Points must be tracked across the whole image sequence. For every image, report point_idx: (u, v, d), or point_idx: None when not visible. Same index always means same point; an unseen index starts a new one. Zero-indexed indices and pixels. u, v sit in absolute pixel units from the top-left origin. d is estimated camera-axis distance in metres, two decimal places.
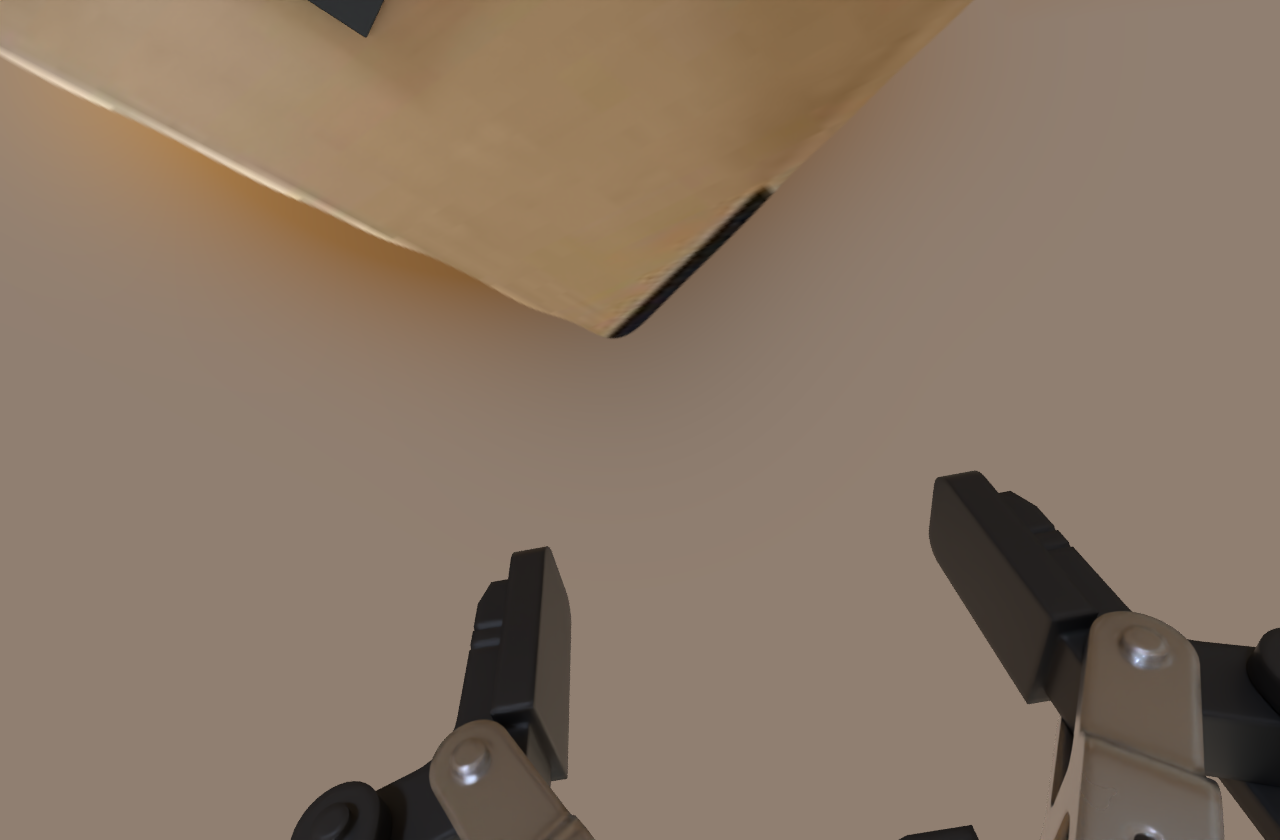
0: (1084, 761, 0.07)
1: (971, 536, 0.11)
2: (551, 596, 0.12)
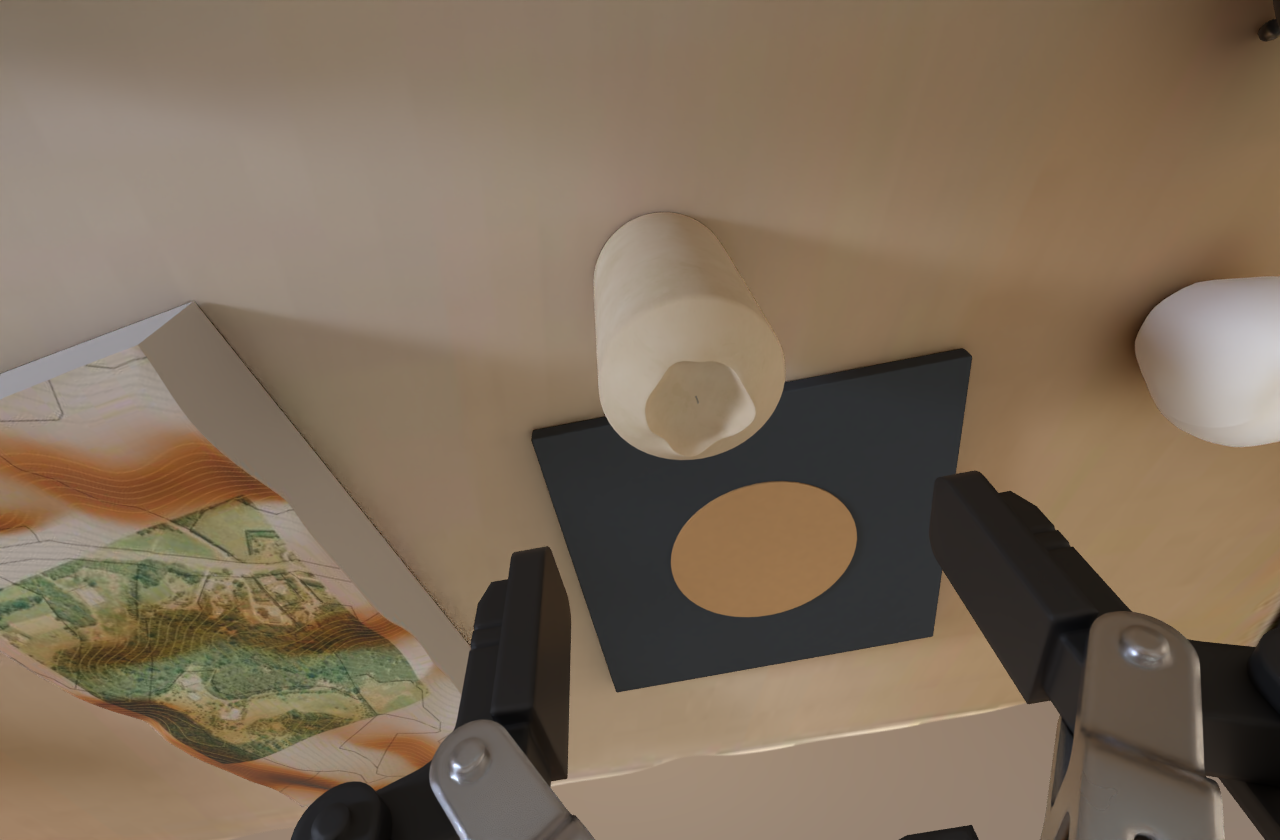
0: (1084, 761, 0.07)
1: (972, 536, 0.11)
2: (551, 596, 0.12)
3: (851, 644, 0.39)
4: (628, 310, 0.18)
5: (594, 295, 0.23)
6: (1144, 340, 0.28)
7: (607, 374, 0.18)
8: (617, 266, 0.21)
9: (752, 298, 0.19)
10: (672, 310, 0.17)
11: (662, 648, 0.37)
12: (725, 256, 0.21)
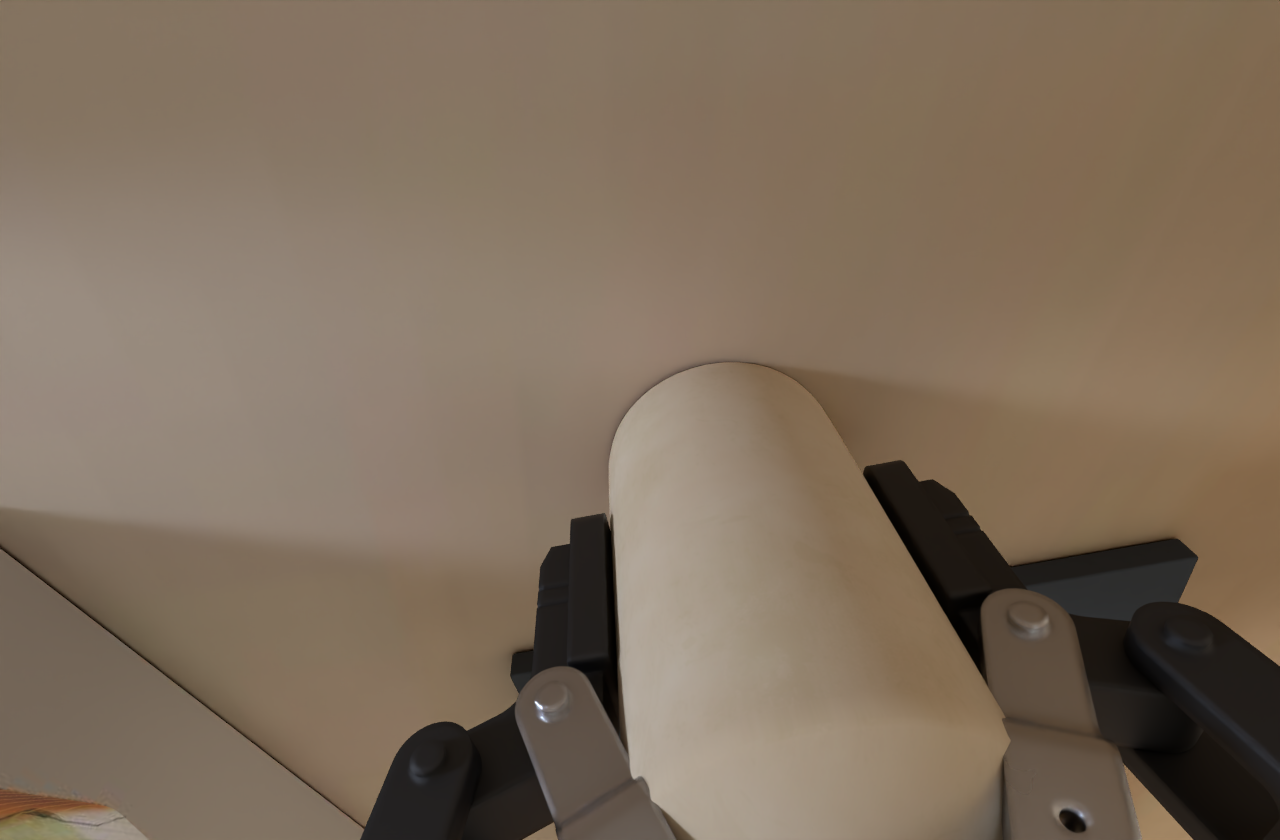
0: None
1: (891, 521, 0.12)
2: (610, 560, 0.13)
3: None
4: (696, 699, 0.08)
5: (611, 514, 0.13)
6: None
7: None
8: (656, 499, 0.11)
9: (947, 623, 0.09)
10: (810, 752, 0.07)
11: None
12: (856, 475, 0.12)
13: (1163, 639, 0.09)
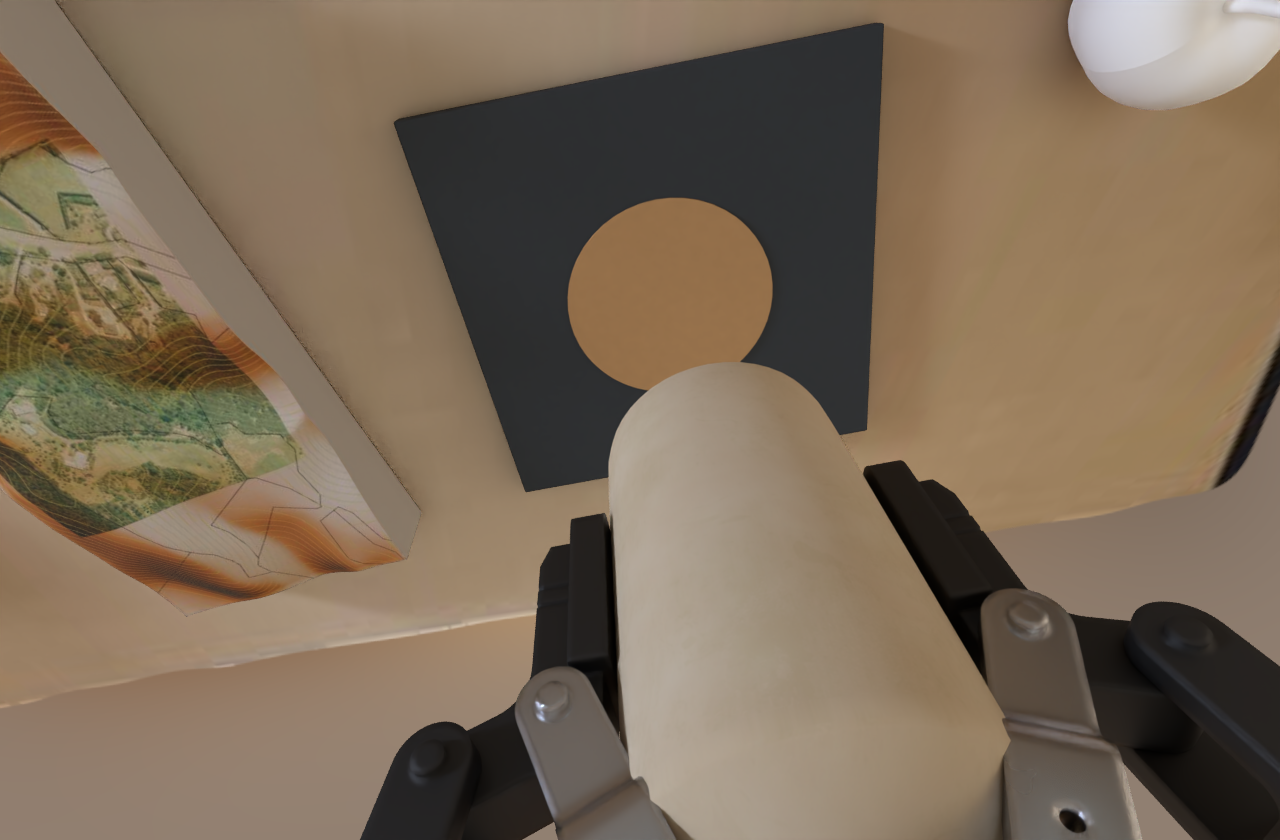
0: None
1: (891, 521, 0.12)
2: (610, 559, 0.13)
3: None
4: (695, 698, 0.08)
5: (610, 514, 0.13)
6: (1075, 3, 0.25)
7: None
8: (656, 499, 0.11)
9: (947, 623, 0.09)
10: (809, 753, 0.07)
11: (570, 432, 0.34)
12: (856, 475, 0.12)
13: (1163, 639, 0.09)
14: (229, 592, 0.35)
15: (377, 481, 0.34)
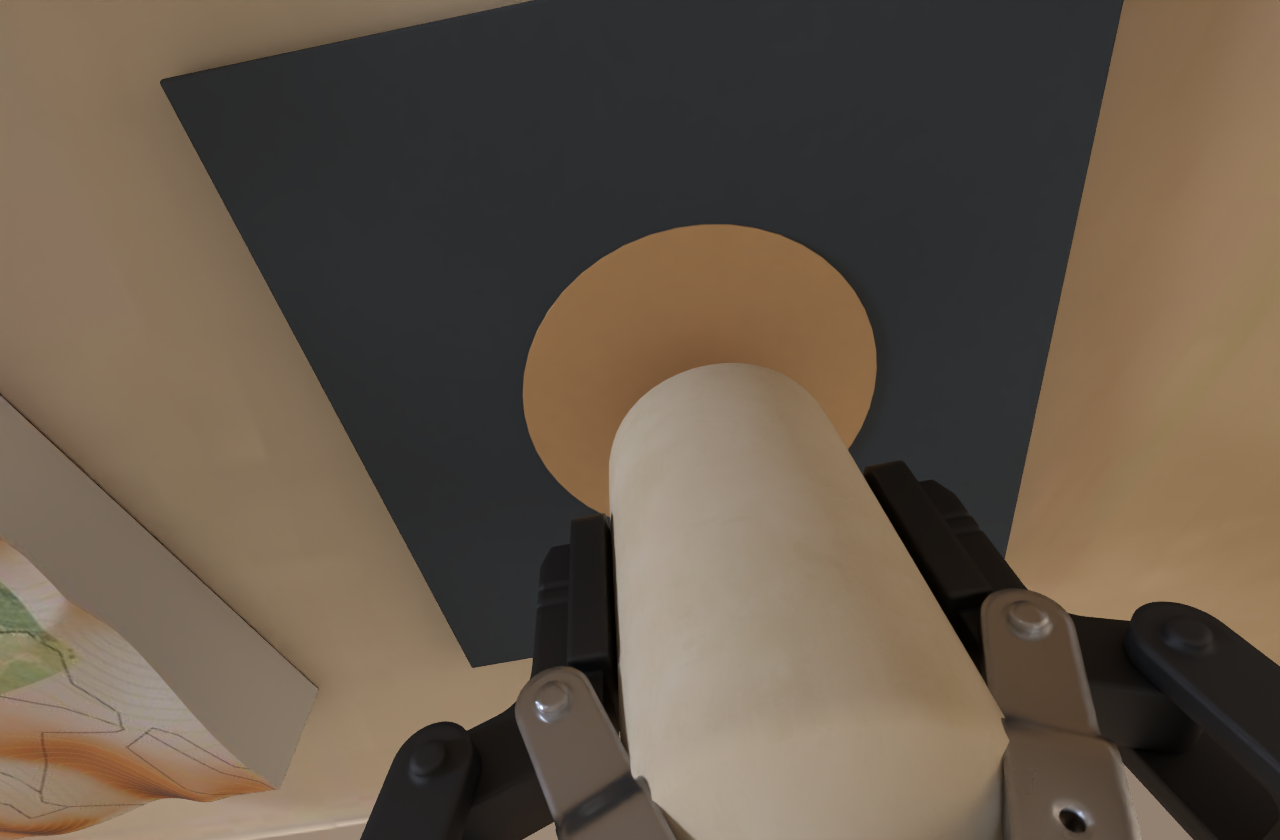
0: None
1: (891, 521, 0.12)
2: (610, 560, 0.13)
3: None
4: (695, 700, 0.08)
5: (611, 515, 0.13)
6: None
7: None
8: (656, 500, 0.11)
9: (947, 624, 0.09)
10: (810, 754, 0.07)
11: (537, 590, 0.22)
12: (856, 476, 0.12)
13: (1163, 639, 0.09)
14: None
15: (230, 668, 0.21)
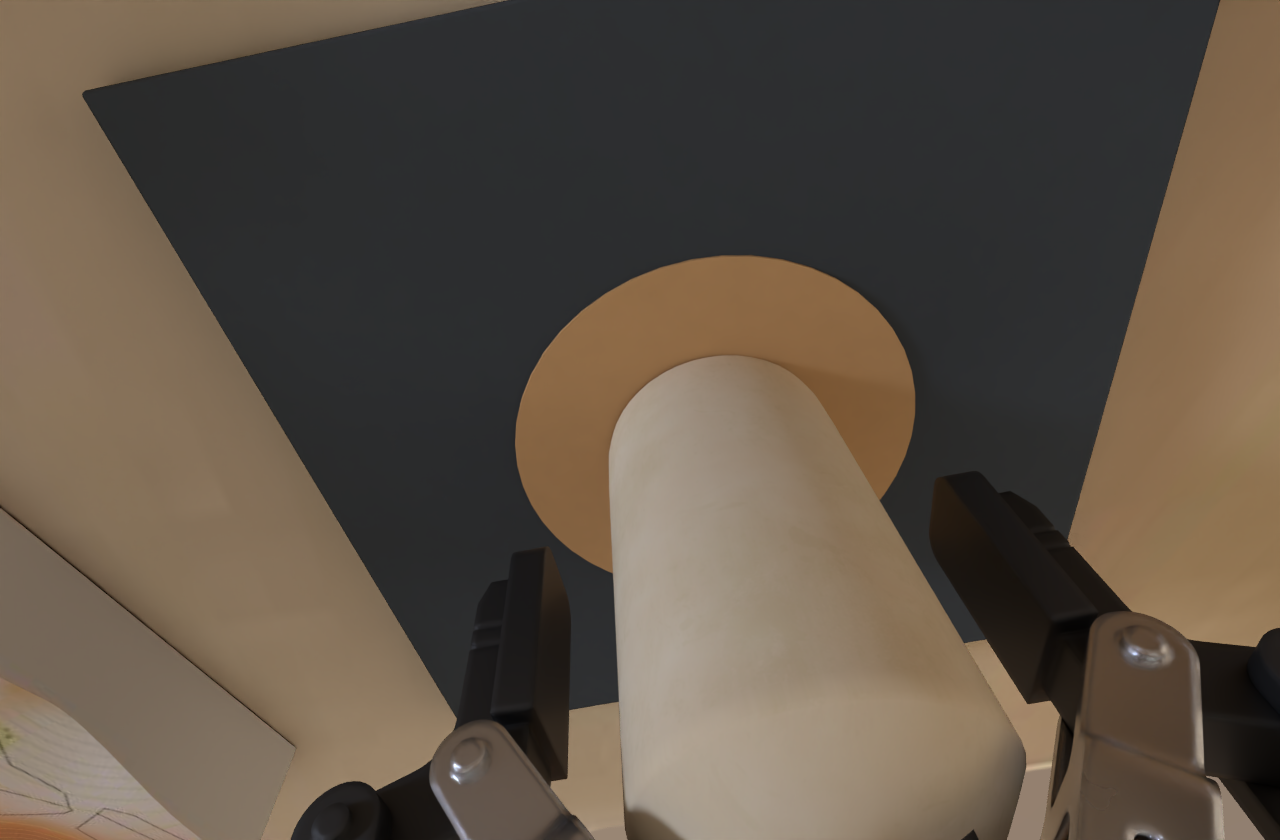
0: (1084, 761, 0.07)
1: (971, 536, 0.11)
2: (551, 596, 0.12)
3: None
4: (692, 677, 0.08)
5: (611, 504, 0.14)
6: None
7: (643, 820, 0.08)
8: (655, 488, 0.11)
9: (938, 606, 0.09)
10: (803, 726, 0.07)
11: None
12: (851, 465, 0.12)
13: None
14: None
15: (194, 736, 0.19)
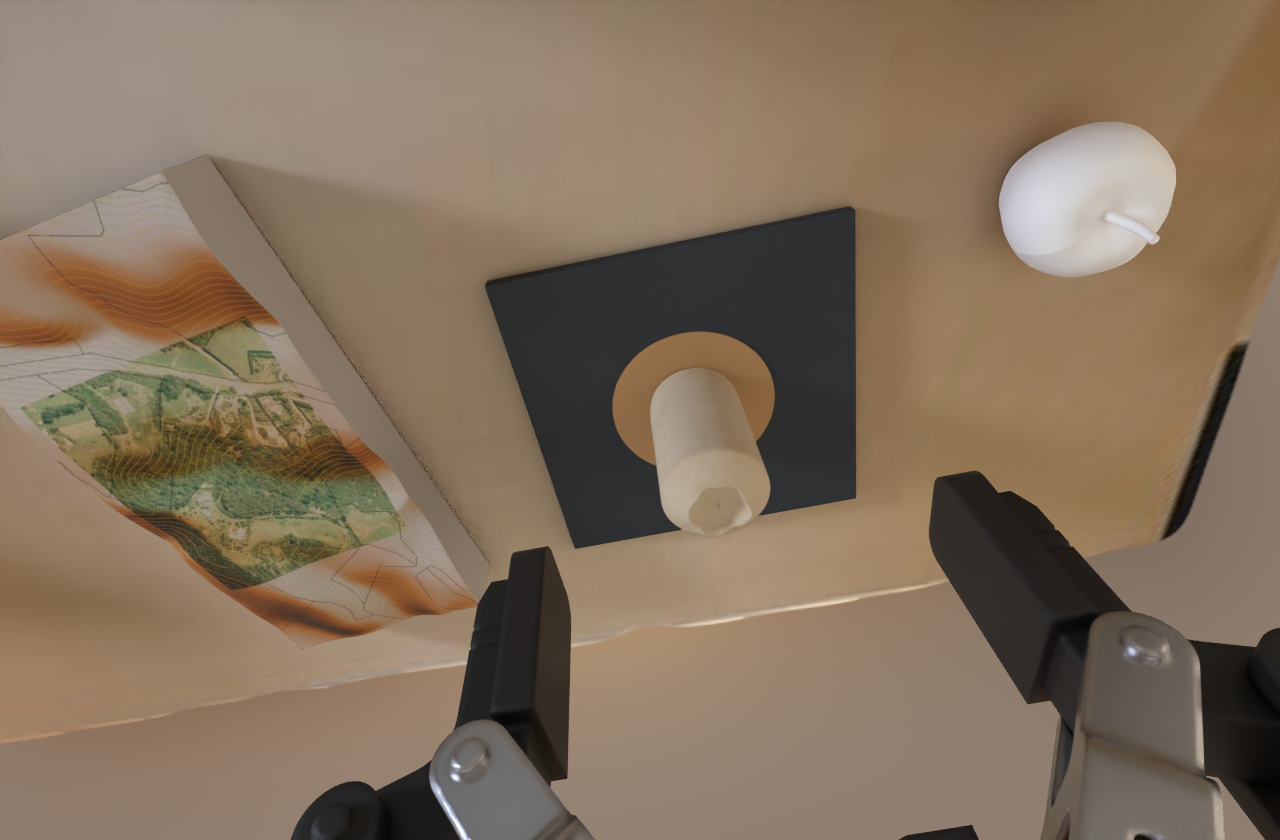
0: (1084, 761, 0.07)
1: (971, 535, 0.11)
2: (551, 596, 0.12)
3: (782, 503, 0.43)
4: (678, 453, 0.31)
5: (652, 423, 0.36)
6: (1001, 194, 0.32)
7: (666, 490, 0.31)
8: (668, 412, 0.34)
9: (751, 441, 0.32)
10: (704, 457, 0.30)
11: (612, 502, 0.43)
12: (735, 405, 0.35)
13: None
14: (338, 630, 0.44)
15: (458, 542, 0.43)
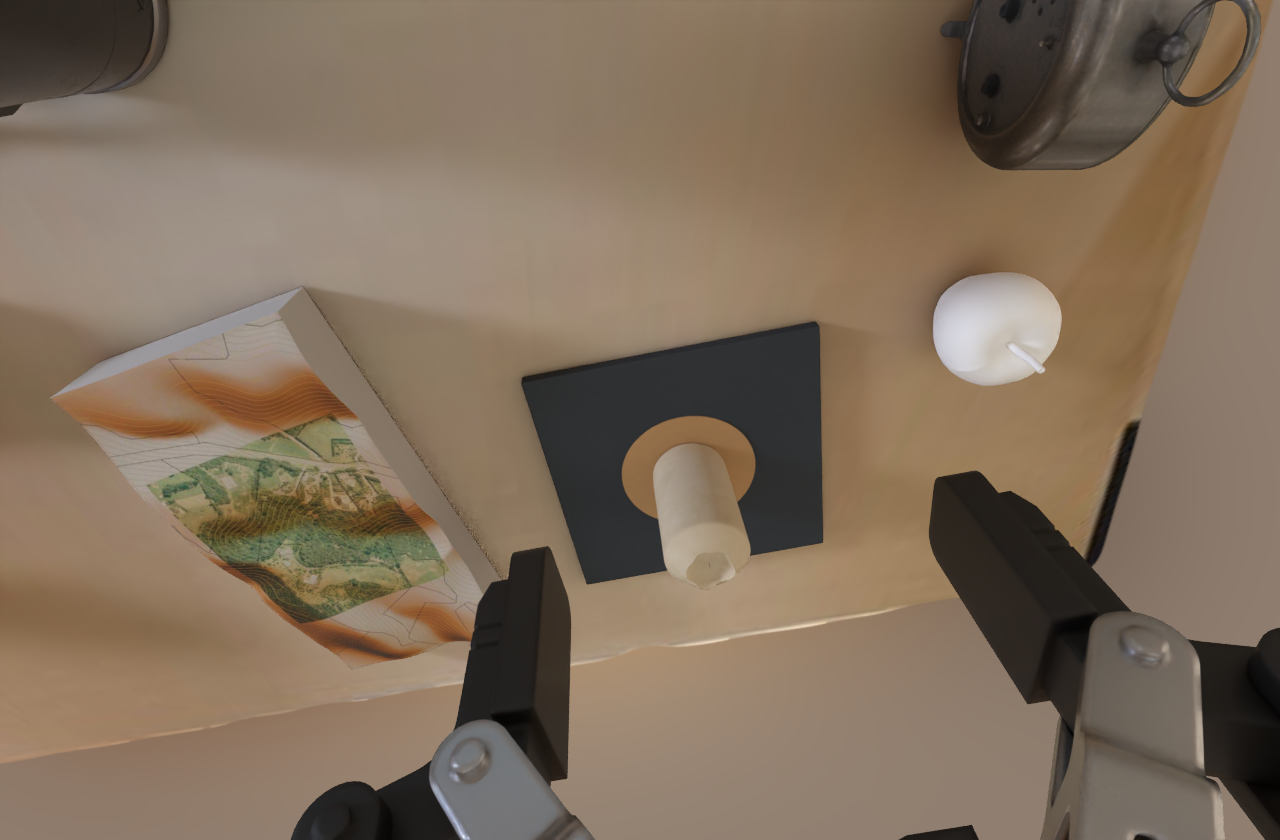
0: (1084, 761, 0.07)
1: (971, 536, 0.11)
2: (551, 596, 0.12)
3: (761, 547, 0.52)
4: (678, 524, 0.39)
5: (655, 490, 0.45)
6: (934, 315, 0.41)
7: (668, 553, 0.39)
8: (669, 485, 0.42)
9: (735, 512, 0.40)
10: (698, 529, 0.38)
11: (619, 547, 0.51)
12: (723, 478, 0.43)
13: None
14: (385, 655, 0.52)
15: (489, 581, 0.50)
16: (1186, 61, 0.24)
